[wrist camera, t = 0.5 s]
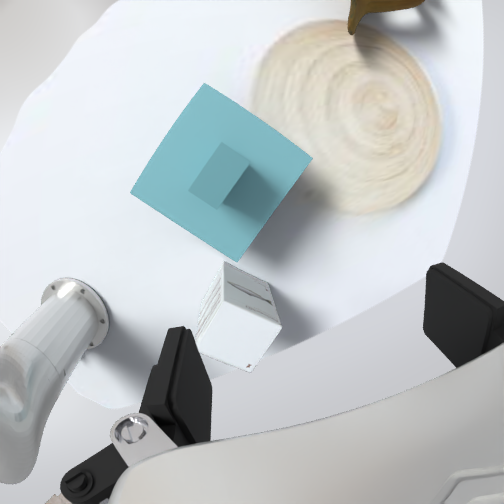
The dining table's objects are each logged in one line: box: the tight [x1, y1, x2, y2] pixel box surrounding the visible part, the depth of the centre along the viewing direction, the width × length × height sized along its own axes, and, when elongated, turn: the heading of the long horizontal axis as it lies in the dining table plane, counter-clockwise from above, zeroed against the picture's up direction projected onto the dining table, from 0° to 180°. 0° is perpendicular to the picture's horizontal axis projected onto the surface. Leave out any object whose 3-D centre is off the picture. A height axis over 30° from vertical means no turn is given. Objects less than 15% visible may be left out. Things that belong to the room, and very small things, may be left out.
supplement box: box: [195, 261, 282, 373], centre depth 38 cm, size 7×7×13 cm
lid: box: [130, 83, 313, 262], centre depth 29 cm, size 14×14×8 cm
